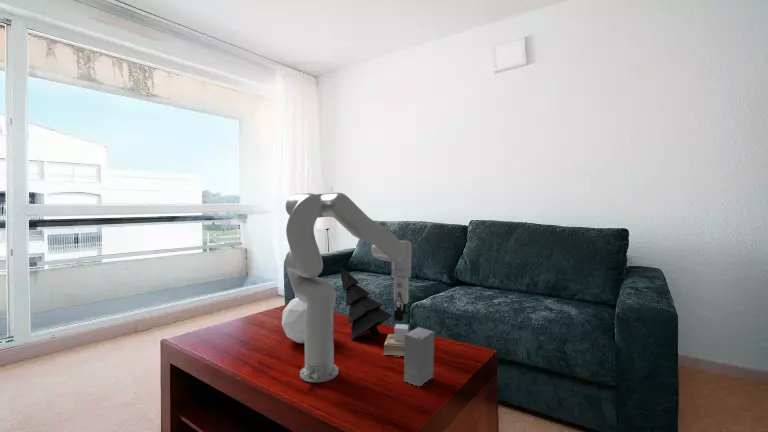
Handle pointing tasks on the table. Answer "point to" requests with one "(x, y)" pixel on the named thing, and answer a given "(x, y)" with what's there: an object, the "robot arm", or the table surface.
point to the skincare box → (418, 356)
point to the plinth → (393, 346)
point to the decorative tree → (362, 308)
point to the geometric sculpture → (294, 320)
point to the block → (400, 332)
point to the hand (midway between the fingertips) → (400, 316)
